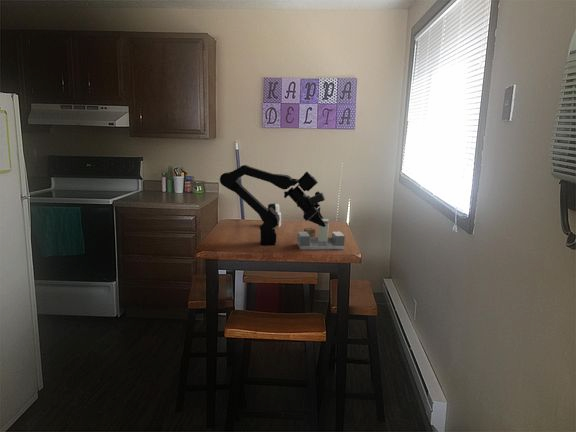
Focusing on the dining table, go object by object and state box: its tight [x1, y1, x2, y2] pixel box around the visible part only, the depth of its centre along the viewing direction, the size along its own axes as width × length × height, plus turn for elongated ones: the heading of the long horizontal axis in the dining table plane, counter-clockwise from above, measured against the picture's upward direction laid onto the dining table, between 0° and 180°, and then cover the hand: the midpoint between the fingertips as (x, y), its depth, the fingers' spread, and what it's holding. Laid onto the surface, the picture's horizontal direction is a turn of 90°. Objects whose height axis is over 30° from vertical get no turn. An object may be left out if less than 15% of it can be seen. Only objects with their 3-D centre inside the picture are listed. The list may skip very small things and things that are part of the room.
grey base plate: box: [296, 236, 345, 250], centre depth 192 cm, size 19×10×3 cm, turn 97°
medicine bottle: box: [267, 203, 282, 229], centre depth 232 cm, size 7×7×12 cm
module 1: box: [297, 231, 310, 246], centre depth 190 cm, size 4×8×4 cm, turn 7°
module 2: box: [331, 231, 346, 246], centre depth 192 cm, size 4×8×4 cm, turn 7°
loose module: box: [317, 218, 330, 242], centre depth 191 cm, size 4×5×9 cm
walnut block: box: [303, 227, 316, 237], centre depth 210 cm, size 4×4×4 cm
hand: (325, 225), depth 190 cm, fingers closed on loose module, 4 cm apart
